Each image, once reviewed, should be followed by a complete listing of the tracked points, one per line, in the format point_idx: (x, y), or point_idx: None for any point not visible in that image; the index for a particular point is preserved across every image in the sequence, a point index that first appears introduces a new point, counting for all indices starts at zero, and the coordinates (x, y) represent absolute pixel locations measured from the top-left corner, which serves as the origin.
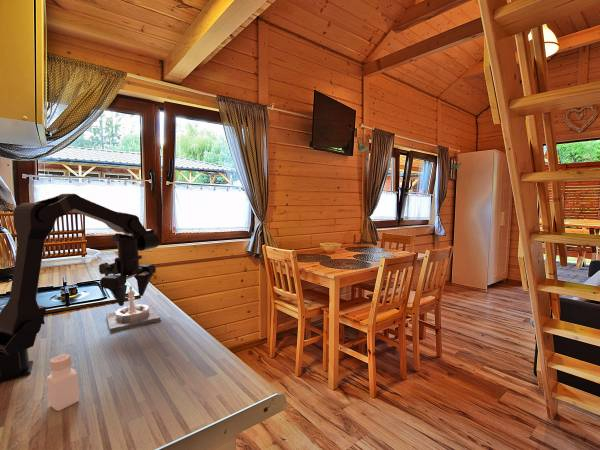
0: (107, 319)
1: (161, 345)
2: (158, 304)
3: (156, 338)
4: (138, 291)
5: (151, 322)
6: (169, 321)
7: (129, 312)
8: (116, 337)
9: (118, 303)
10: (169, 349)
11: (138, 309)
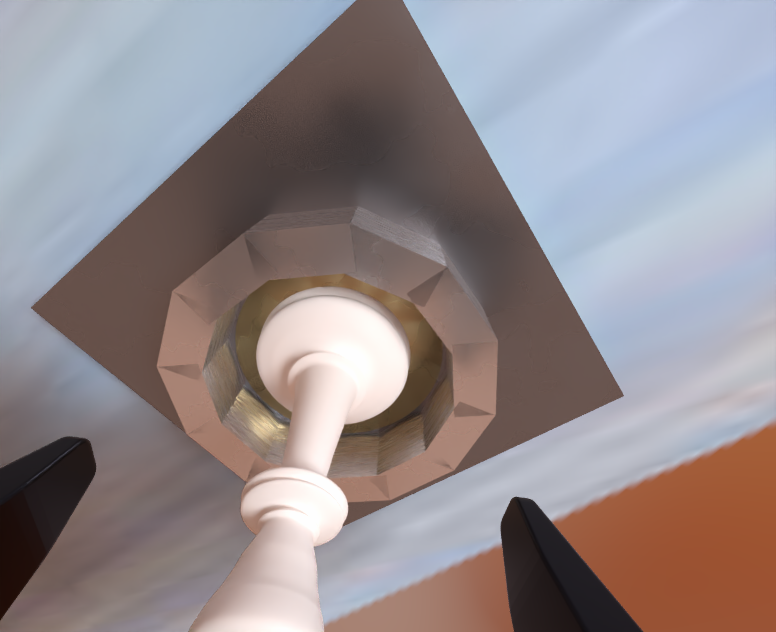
0: (218, 132)
1: (53, 593)
2: (695, 390)
3: (104, 561)
4: (542, 561)
5: None
6: (319, 552)
7: (295, 368)
8: (22, 378)
9: (18, 461)
10: (38, 621)
11: (447, 369)
